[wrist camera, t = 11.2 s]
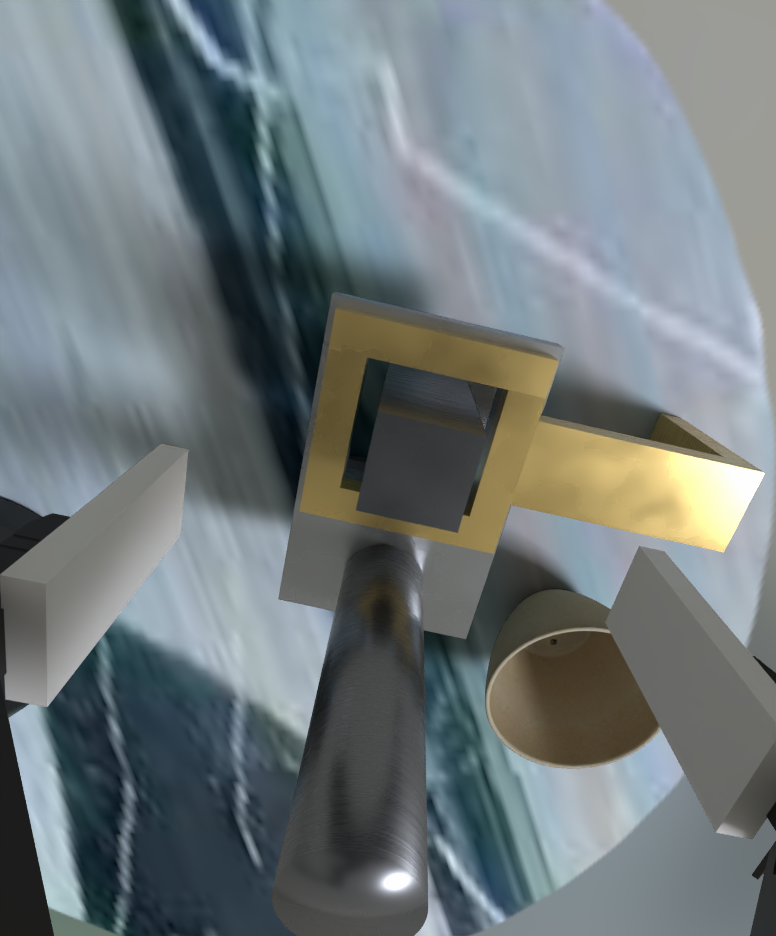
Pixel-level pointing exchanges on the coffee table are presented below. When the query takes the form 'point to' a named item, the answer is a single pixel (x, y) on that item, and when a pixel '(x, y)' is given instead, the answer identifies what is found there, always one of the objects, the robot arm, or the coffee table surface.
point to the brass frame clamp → (438, 587)
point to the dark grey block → (422, 449)
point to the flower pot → (564, 685)
